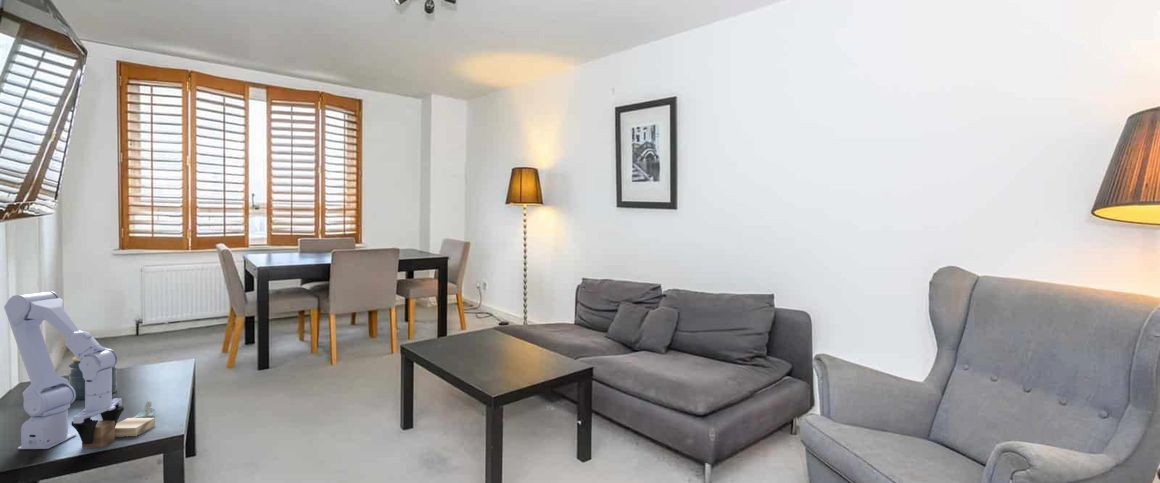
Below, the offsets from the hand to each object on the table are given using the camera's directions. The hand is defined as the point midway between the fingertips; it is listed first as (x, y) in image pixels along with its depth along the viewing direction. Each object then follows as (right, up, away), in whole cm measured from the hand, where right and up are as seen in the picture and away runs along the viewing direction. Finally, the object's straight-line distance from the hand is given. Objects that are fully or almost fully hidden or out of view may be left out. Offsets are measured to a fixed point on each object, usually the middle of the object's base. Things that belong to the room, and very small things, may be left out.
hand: (98, 438), depth 149 cm
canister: (-39, +1, +39) cm, 55 cm away
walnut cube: (0, -2, 0) cm, 2 cm away
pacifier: (-3, -1, +19) cm, 19 cm away
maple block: (+1, -2, +9) cm, 10 cm away
